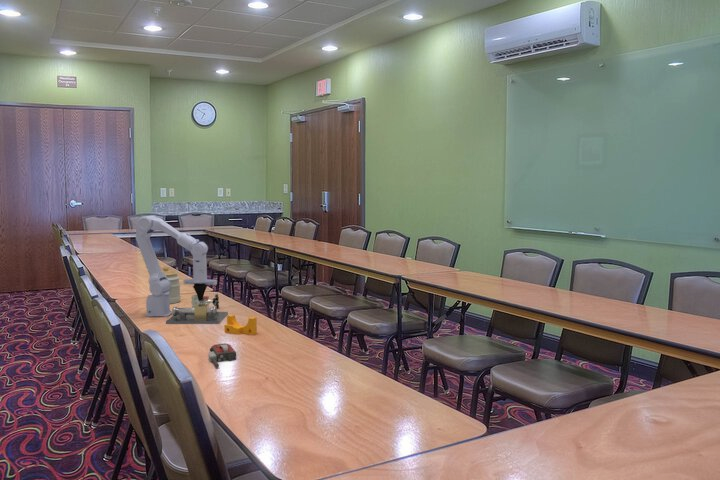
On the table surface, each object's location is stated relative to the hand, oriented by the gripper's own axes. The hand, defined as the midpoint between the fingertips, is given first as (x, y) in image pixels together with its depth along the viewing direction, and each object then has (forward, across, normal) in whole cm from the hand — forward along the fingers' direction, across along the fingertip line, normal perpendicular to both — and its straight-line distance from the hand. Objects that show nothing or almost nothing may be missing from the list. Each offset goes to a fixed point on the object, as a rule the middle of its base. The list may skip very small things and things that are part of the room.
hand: (200, 300), depth 260 cm
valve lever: (+1, +2, -2) cm, 3 cm away
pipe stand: (+7, +1, -6) cm, 9 cm away
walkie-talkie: (+7, +30, -60) cm, 68 cm away
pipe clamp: (+7, +26, -27) cm, 38 cm away
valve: (+7, -3, +14) cm, 16 cm away
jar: (+7, -28, +27) cm, 39 cm away
